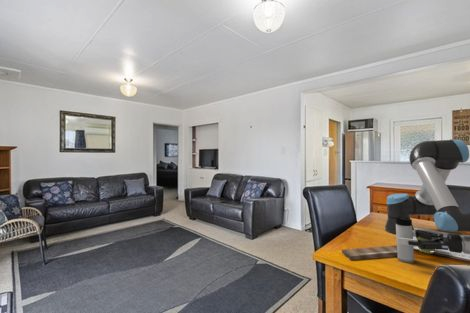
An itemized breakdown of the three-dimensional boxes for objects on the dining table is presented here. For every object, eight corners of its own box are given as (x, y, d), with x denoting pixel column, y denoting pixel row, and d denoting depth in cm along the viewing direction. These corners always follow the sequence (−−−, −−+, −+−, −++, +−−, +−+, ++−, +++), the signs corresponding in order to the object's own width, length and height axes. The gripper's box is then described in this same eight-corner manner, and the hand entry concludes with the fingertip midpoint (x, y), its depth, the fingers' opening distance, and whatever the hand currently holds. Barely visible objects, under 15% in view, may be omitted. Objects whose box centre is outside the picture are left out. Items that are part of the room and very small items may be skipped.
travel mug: (393, 257, 110) (391, 215, 111) (406, 256, 111) (404, 214, 111) (404, 263, 104) (401, 219, 104) (418, 262, 105) (415, 218, 105)
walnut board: (398, 249, 120) (397, 245, 120) (410, 255, 112) (410, 251, 112) (342, 253, 118) (341, 249, 118) (350, 260, 110) (350, 256, 110)
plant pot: (433, 248, 119) (432, 231, 119) (443, 256, 110) (442, 237, 110) (411, 247, 122) (410, 230, 122) (419, 254, 113) (418, 236, 113)
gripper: (469, 264, 86) (399, 253, 98) (455, 243, 107) (399, 236, 119) (468, 244, 86) (398, 236, 99) (454, 226, 107) (398, 221, 119)
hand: (398, 236), depth 109 cm, fingers open, 13 cm apart
